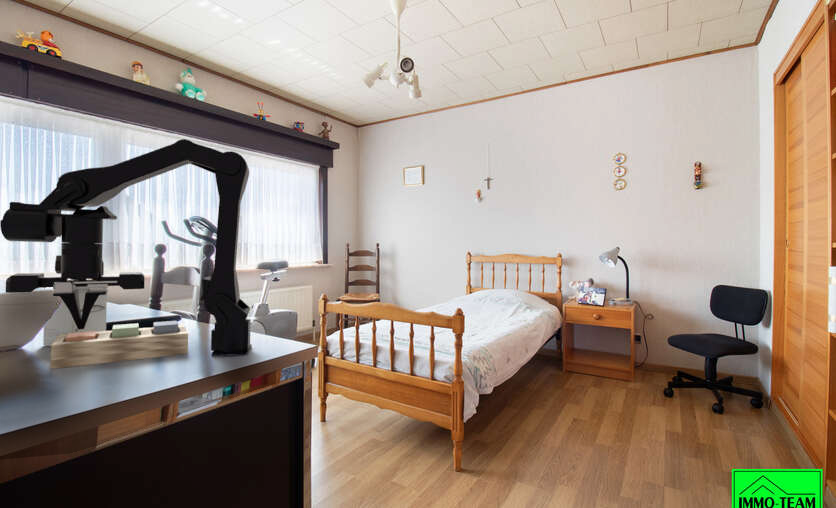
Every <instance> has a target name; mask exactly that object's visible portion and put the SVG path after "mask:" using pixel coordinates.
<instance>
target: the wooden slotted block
mask: <svg viewBox="0 0 836 508" xmlns="http://www.w3.org/2000/svg"><path fill="white" fill-rule="evenodd" d="M153 327H154V326H152V327H139V335H137V336H126V337H114V338H112V329H111V330H106V331H98V332H97V339H90V340H78V341H66V337H67V335H68V334H60V335H59V336H58V337H57V339H56V340H55V341H54V343H53V344H52V345H51V346H50V349H51V350H50V351H51V352H50V355H51V356H50V361H51V362H50V369H51V370H54V369H63V368H72V367H80V366H81V367H82V366H90V365H98V364H106V363H108V364H109V363H115V362H116V363H118V362H125V361H133V360H143V359H144V360H145V359H152V358H161V357H169V356H179V355H188V352H189V332H188V330H187V329H186V326H185V325H184V324H182V325H181V324H178V332H173V333H161V334H153Z"/></svg>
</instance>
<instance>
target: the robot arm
mask: <svg viewBox="0 0 836 508" xmlns="http://www.w3.org/2000/svg"><path fill="white" fill-rule="evenodd" d="M186 165H192V166H195V167H197V168H200V169H203V170H205V171H207V172H210V173H212V174H215V184H216V187H217V192H218V199H219V201H218V211H217V212H218V214H217V223H216V224H217V225H216V226H217V227H216V240H215V252H214V254H215V255H214V265H213V267H214V268H213V271H212V273H211V276H206V277H204V278H202V280H201V285H202V295H201V297H200V299H199V300H200V301H201V302H202V301H203V307H204V309H205V310H206V312H208V313H209V314H210V315H211V316H213V318H214V319H215V322H214V327H213V329H212V330H211V331H210V333H211V334H210V335H211V336H210V351H212V352H211V356H213V357H214V356H238V355H239V356H241V355H242V356H243V355H248V354H249V352H250V350H251V349H252V347H253V345H252V344H251V327H252V326H251V322H252V321H251V319H248V318H247V317H248V316H249V314H250V311H251V307H250V306H249V305H248V304H247V303H246V302H244V300H242V299H241V296H240V287H239V286H240V285H239V279H238V276H237V275H238V274H237V269H236V266H237V257H238V242H239V241H238V240H239V231H240V230H239V228H240V216H241V215H240V214H241V202H242V200H243V196H244V194H245V191H246V188H247V184H248V180H249V176H250V168H249V165H248V163H247V162H246V159H245V158H244V157H243V156H242V155H241V154H240V153H238V152H236V151H235V152H234V151H224V152H222V151H219V150H217V149H214V148H211V147H208V146H205V145H202V144H198V143H195V142H194V141H191V140H190V139H184V138H182V139H179V140H177V141H176V142H174V143H172V144H168V145H165V146H163V147H160V148H158V149H155V150H152V151H149V152H147V153H144V154H140V155H138V156H136V157H132V158H129V159H127V160H124V161H122V162H118V163H115V164H112V165H109V166H101V167H88V168H83V169H78V170H73V171H68V172H65V173H63V174H61V175H60V176H59V177H58V178H57V179H58V180H57V183H56V187H55V188H54V189H53V190H52V191H51V192H50V193H49V194H48V195H47V196H46V197H45V198H44V199H43V200H42V201H41V202H40V203H38V204H36V203H26V202H19V201H10V202H9V208H8V209H7V210H6V211H4V214H3V216H2V219H1V220H0V231H1V234H2V236H3V237H4V239H5V240H7V241H8V242H23V243H24V242H29V243H30V242H32V243H33V242H34V243H53V242H55V241H56V240H57V238H61V250H60V251H61V252H60V253H61V255H56V256H55V263H54V271H55V273H56V274H58V275H60V276H48V277H47V276H46V277H45V274H44V272H40V273H36V272H35V273H34V272H33V273H31V272H30V273H28V272H27V273H22V272H21V273H14V274H12V275H10V276H9V277H8V278H6V279H5V280H6V281H5V293H8V294H12V293H13V294H15V293H19V294H20V293H32V292H34V291H35V290H37V289H39V288H40V289H41V288H44V289H45V288H46V287H53V289H54V293H53V296H55V297H57V296H59V297H61V299H62V300H63V302H64V303H65V305H66V306H67V308H68V309H69V311H70V313H71V315H72V317H73V319H74V322H75V324H76V326H77V328H78V330H80V329H84V328H85V325H86V323H87V320H88V318H89V315H90V313H91V310H92V308H93V306H94V304H95V302H96V300H97V298H98V297H99V295H106V294H107V293H108V291H109V289H108V288H109V287H116V286H117V287H118V286H119V287H120V288H122V289H123V290H141V289H142V290H144V289H145V274H143V272H139V271H138V272H136V271H135V272H134V271H133V272H130V271H129V272H119V274H118V275H117V276H114V275H113V276H111V275H110V276H108V275H107V276H104V275H105V274H104V269H105V263H104V260H103V249H104V248H103V245H104V243H103V240H104V239H103V237H104V235H103V234H104V233H103V232H104V220H109V221H110V220H117V219H118V217H117V215H115V214H114V213H113V212H112V211H110V209H109V208H108V207H107V206H103V204H105V203H106V202H108V201H110V200H112V199H114V198H115V197H116V196H118V195H119V194H120V193H121V192H122V191H124V190H125V189H127V188H129V187H130V186H133V185H136V184H138V183H141V182H144V181H146V180H149V179H151V178H154V177H157V176H160V175H163V174H166V173H168V172H170V171H173V170H176V169H179V168H180V167H184V166H186ZM86 207H88V208H95V207H97V208H96V209H86ZM62 212H73V213H72V214H71V213H62ZM86 286H87V288H89V289H88V291H87V292H86V293H85V299H84V305H83V311H82V317H81V311H80V304H79V290H78V289H75V288H76V287H86ZM107 295H108V294H107Z"/></svg>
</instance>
